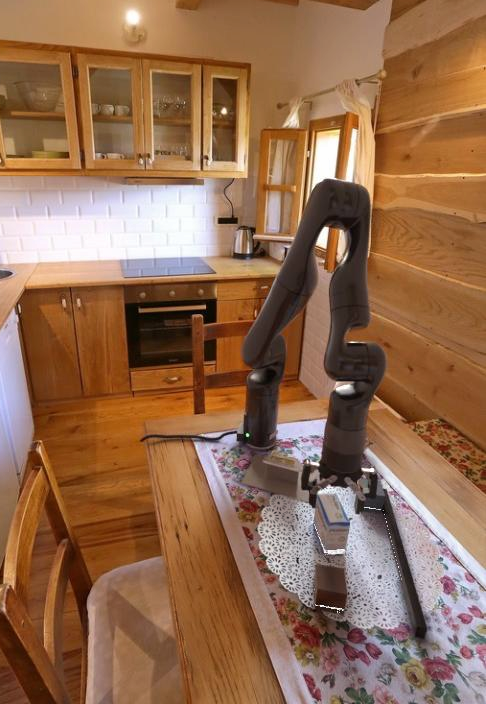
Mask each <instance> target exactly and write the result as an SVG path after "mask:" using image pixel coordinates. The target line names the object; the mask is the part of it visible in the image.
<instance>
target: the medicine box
mask: <svg viewBox="0 0 486 704" xmlns="http://www.w3.org/2000/svg"><path fill="white" fill-rule="evenodd" d="M313 514H314V515H313V520H312V526H313V529H314V532H315V534H316V537H317V540H318V543H319V545H320V547H321V551H322V553H323V555H324V556H332V555H331V554H330V555H329V554H328V553H324V552H323V547H322V545H321V542H322V544H323V546H324V549H325V550H337V549H346V550H347V545H348V539H349V533H350V527H351V521H350V520H349V518H348V515H347V513H346V511H345V509H344V507H343V505H342V502H341V501H340V498H339V497H338V494H337V493H319V494H318V493H317V500H316V508H315V509H314V513H313ZM313 521H314V523H313ZM314 524H315V526H316V529H317V531H316V529H315V526H314ZM317 532H318V534H319V537H320V539H321V542H320V539H319V537H318V534H317ZM325 554H326V555H325ZM327 554H328V555H327Z"/></svg>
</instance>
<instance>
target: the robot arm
mask: <svg viewBox="0 0 486 704" xmlns="http://www.w3.org/2000/svg"><path fill="white" fill-rule="evenodd" d="M371 203H372V202H371V195H370V192H369V190H368V188H366V187H365V186H364V185H362V184H359V183H355V182H352V181H347V180H343V179H339V178H334V177H330V176H329V177H327V176H325V177H322V178H320V179H319V180H318V181H317V182H316V183H315V184H314V186H313V188H312V190H311V192H310V194H309V196H308V198H307V201H306V204H305V206H304V208H303V211H302V214H301V218H300V220H299V223H298V225H297V229H296V231H295V235H294V237H293V240H292V242H291V244H290V247H289V249H288V251H287V253H286V256H285V258H284V260H283V262H282V264H281V266H280V268H279V270H278V272H277V274H276V276H275V279H274V281H273V283H272V285H271V288H270V291H269V292H268V295H267V297H266V299H265V301H264V303H263V305H262V307H261V309H260V311H259V313H258V316H257V317H256V319H255V320H254V322H253V324H252V325H251V327H250V329H249V331H248V332H247V334H246V335H245V337H244V338H243V340H242V343H241V349H240V355H241V359H242V362H243V363H244V365H245V366H246V367H247V368H248V369H251V370H252V371H250V372H249V374H248V375H247V377H246V382H245V401H244V413H243V422H238V427H237V429H236V430H230V431H226V432H223V433H222V434H221V435H219V436H217V437H207V436H202V435H196V434H157V433H156V434H154V433H153V434H147V435H145V436H143V437H141V438H140V440H139V442H140V443H142V442H145V441H146V440H147V439H151V438H152V439H153V438H157V439H158V438H160V439H198V440H203V441H208V442H209V441H211V442H215V441H216V442H217V441H220V440H222V439H224V438H225V437H227V436H230V435H231V436H232V435H236V440H235V441H236V442H238V443H242V445H243V446H247V447H248V448H250V449H253V450H256V451H266V450H270V449H273V448H274V447H275V445H276V443H277V435H279V429H278V420H279V419H278V417H279V404H280V392H281V385H282V383H283V381H284V379H285V371H286V366H287V365H286V363H287V356H288V347H287V345H288V344H287V341H286V339H285V337H284V335H283V334H282V333H281V332H282V331H284V329H285V328H286V327H287V326H288V325H290V324H291V323H292V322H293V321H295V319H296V318H297V317H298V316H299V315H300V314H301V313H302V312H303V311H304V310H305V308H306V307H307V306H308V304H309V302H310V300H311V299H312V296H314V293H315V291H316V289H317V288H318V284H319V270H318V266H317V263H318V262H317V257H316V247H317V243H318V240H319V237H320V235H321V233H322V231H323V229H324V228H329V229H334V230H339V231H342V233H343V236H344V242H345V243H344V244H345V245H344V250H343V253H342V256H341V257H340V260H339V261H338V263H337V265H336V267H335V269H334V271H333V272H332V275H331V278H330V280H329V285H328V301H329V302H328V303H329V315H330V321H329V324H330V325H329V332H328V338H327V342H326V347H325V351H324V356H323V363H322V364H323V369H324V372H325V374H326V375H327V377H328V378H329V379H330V380H331V381H333V382H336V383H337V382H353V383H351V384H349V385H346V386H342V387H338V388H336V389H334V388H333V390H332V391H331V392H330V393H329V394H330V395H329V398H328V399H329V400H328V407H327V408H328V409H327V410H328V411H327V417H326V420H325V425H324V430H323V437H322V438H323V439H322V446H321V447H322V448H321V456H320V460H319V461H318V462H315V461H311V459H310V458H308V457H306V458H304V460H303V464H302V465H303V470H302V476H301V489H302V490H303V491H306V490H308V491H309V503H308V505H309V506H311V509H314V510H315V508H316V500H317V495H318V493H319V492H320V491H321V490H323V491H324V489H326V488H327V487H328V486H329V487H333V488H337V487H339V488H342V489H348V488H350V490H351V491H352V492H353V494H354V495H355V497H354V498H355V499H354V504H353V505H354V506H353V508H354V514H355V515H360V514H361V513H363V512H364V511H363V509H364V503H365V500H366V499H367V498H370V499H375V498H376V493H377V482H378V481H379V475H378V471H377V468H376V465H375V466H374V465H370V466H369V467H368V468H367V467H366V468H364V467H362V466H363V458H364V456H363V454H365V451H364V447H365V444H366V434H367V424H368V418H369V411H370V406H371V403H372V401H373V400H374V397H375V395H376V393H377V391H378V390H379V388H380V385H381V383H382V382H383V379H384V378H385V375H386V372H387V368H388V357H387V356H388V355H387V353H386V351H385V349H384V348H383V346H381V345H380V344H379V343H377V342H371V341H346V337H347V334H350V333H354V332H358V331H363V330H366V329H367V328H368V327H369V326H370V325H371V323H372V313H371V302H370V294H369V293H370V292H369V286H368V284H369V283H368V262H369V261H368V259H369V247H370V236H371V235H370V231H371V217H372V216H371V215H372V213H371V212H372V204H371ZM315 470H318V471H319V473H318V474H317V476H316V477H315V478H314V479H313V480H312V481H311V482H310V481H309V477H310V474H312V473H314V471H315ZM363 476H364V478H365V479H367V480H368V487H367V488H363V487H362V486H361V484H360V483H359V481H358V480H359V479H360V478H362V477H363ZM317 492H318V493H317Z"/></svg>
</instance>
